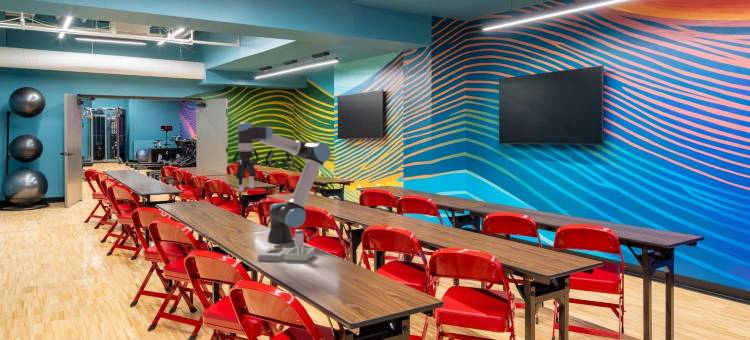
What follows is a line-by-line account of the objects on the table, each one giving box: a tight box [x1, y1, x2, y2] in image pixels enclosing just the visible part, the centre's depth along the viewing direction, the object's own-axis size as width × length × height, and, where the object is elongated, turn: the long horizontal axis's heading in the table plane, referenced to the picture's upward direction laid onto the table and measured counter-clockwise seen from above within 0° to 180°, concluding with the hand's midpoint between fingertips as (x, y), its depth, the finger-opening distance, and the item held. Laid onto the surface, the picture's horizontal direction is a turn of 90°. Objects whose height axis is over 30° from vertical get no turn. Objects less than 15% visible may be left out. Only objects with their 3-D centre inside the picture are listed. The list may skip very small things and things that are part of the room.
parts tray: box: [283, 247, 315, 263], centre depth 255 cm, size 14×12×4 cm
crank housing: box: [257, 245, 291, 262], centre depth 258 cm, size 16×12×5 cm
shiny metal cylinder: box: [294, 228, 304, 254], centre depth 255 cm, size 4×4×14 cm
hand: (246, 189), depth 269 cm, fingers open, 13 cm apart
